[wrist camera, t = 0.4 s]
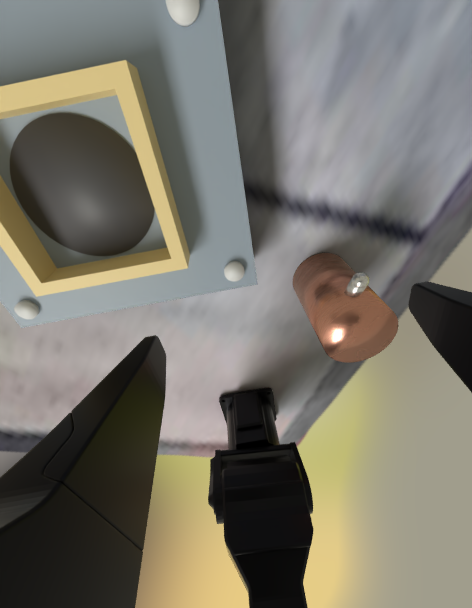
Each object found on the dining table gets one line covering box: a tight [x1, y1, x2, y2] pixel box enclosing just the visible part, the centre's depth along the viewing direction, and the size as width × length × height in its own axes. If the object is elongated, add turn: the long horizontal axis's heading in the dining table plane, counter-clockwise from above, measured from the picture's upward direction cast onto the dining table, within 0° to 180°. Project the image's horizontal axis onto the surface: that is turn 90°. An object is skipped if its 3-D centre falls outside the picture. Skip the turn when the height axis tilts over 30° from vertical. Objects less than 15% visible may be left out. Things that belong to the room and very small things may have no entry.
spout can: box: [293, 253, 398, 362], centre depth 21 cm, size 7×5×8 cm
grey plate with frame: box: [0, 0, 258, 328], centre depth 15 cm, size 19×18×6 cm
